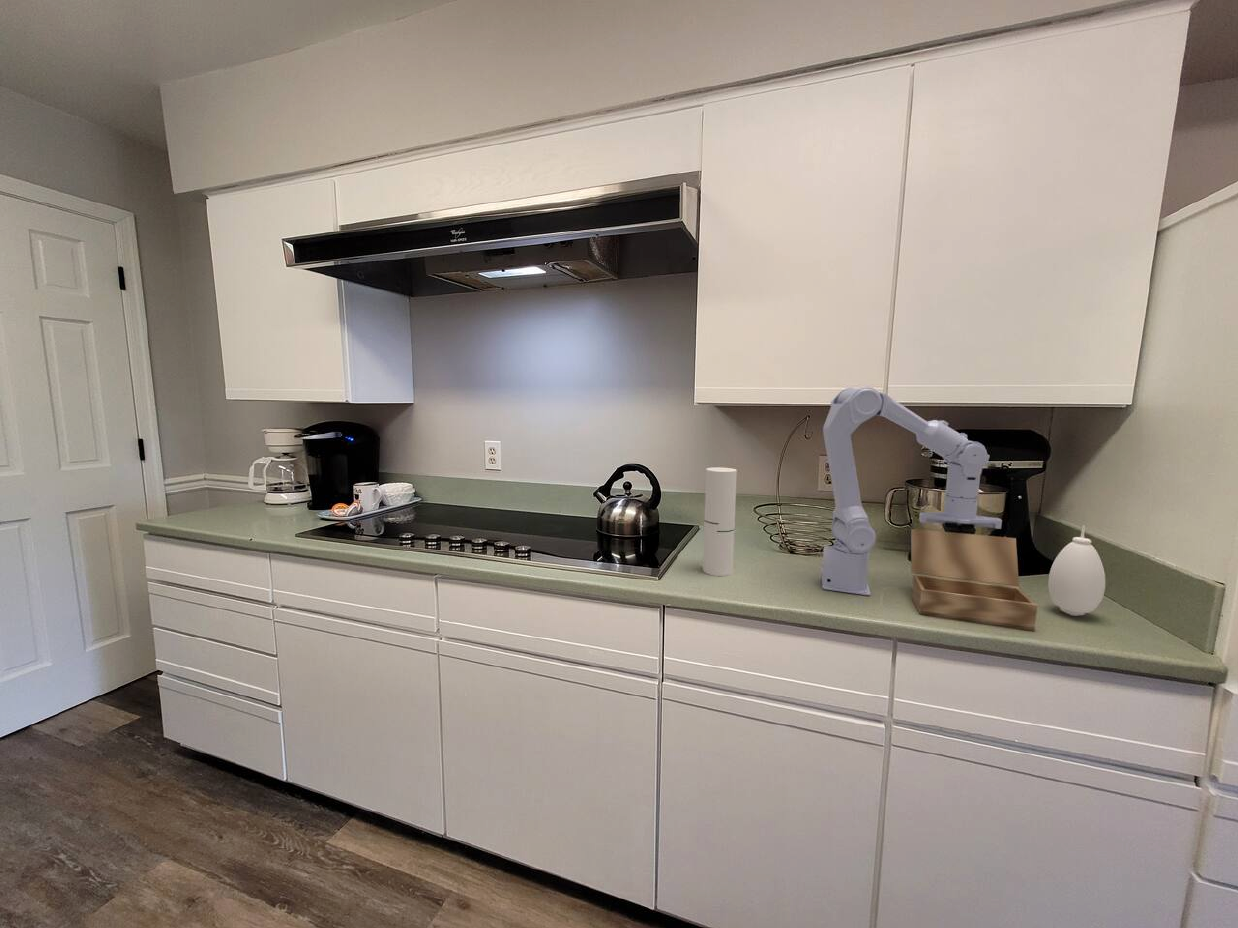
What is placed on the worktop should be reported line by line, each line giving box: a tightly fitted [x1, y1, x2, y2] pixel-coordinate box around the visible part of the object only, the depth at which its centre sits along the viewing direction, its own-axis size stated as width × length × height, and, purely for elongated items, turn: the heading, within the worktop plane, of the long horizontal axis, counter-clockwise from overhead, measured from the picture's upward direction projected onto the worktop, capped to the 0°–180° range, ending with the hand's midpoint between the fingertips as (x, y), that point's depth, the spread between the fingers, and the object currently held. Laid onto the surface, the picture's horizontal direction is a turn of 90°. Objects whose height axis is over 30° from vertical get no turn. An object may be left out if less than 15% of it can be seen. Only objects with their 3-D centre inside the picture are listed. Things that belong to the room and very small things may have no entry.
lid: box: [910, 528, 1020, 587], centre depth 101 cm, size 18×10×1 cm
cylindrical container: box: [702, 467, 738, 577], centre depth 116 cm, size 7×7×25 cm
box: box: [910, 574, 1038, 632], centre depth 95 cm, size 18×9×5 cm, turn 68°
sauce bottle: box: [1047, 524, 1106, 617], centre depth 94 cm, size 8×8×18 cm
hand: (955, 557), depth 105 cm, fingers closed, pressing on lid
